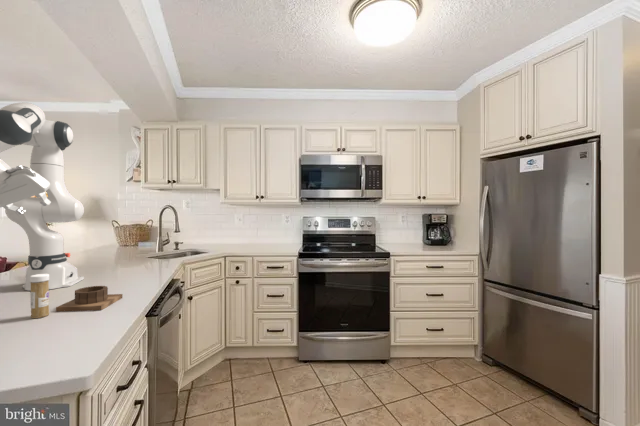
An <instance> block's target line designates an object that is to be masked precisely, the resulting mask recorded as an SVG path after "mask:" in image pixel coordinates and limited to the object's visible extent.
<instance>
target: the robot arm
mask: <svg viewBox="0 0 640 426" xmlns="http://www.w3.org/2000/svg"><path fill="white" fill-rule="evenodd" d="M73 142H74V132H73V129H72V127H71V126H70V125H69V124H68V123H66V122H63V121H59V120H52V119H51V120H49V119H46V114H45V112H44V111H43V109H41V107H39V106H38V105H36V104H34V103H31V102H30V103H29V102H14V103H11V104H7V105H5V106H3V107H1V108H0V153H2V152H5V151H7V150H9V149H12V148H14V147H16V146H20V145H24V146H31V147H32V150H31V153H30V161H29V163H30V164H29V166H24V165H23V166H22V165H16V166H15V167H11V166H10V165H9V164H8V163H7V162H5V161H4V160H3V158H1V157H0V208H3V209H4V211H5V215H6V216H7V218H8V219H9V220H11V222H14V223H16V224H17V225H18V226H19V227H21V228H22V230H24V232H25V234H26V235H27V239H28V246H29V248H28V249H29V255H28V259H27V263H28V265H29V266H27V268H26V270H25V271H26V273H25V278H24V284H22V286H21V287H22V288H23V289H24V290H25V291H30V292H31V282H30V276H32V275H37V274H49V281H48V284H49V285H48V286H49V290H53V289H55V290H56V289H59V288H67V287H72V286H74V285H75V284H77V283H79V282H81V281H83V280H84V279H85V276H80V275H78V268H77V267H76V266H75V265H73V264H72V263H70V262H69V261H68V258H71V252H64V251H65V248H64V244H65V243H64V241H65V239H64V236H63V235H62V234H61V233H60V232H58V231H55V230H52V229H50V228H49V227H48V225H47V224H49V223H50V224H51V223H71V222H76V221H79V220H80V219H81V218H83V216H84V213H85V207H84V205H83V203H82V202H81V201H80V200H79V199H78V198H76V197H74V196H73V195H72V194H71V193H70V191H69V190H68V188H67V186H66V183H65V181H66V180H65V160H64V159H65V158H64V153H63V151H65V149H67V148H69V147H70V146H71V144H73ZM34 196H35V197H34Z"/></svg>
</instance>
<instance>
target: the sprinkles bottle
mask: <svg viewBox="0 0 640 426" xmlns="http://www.w3.org/2000/svg"><path fill="white" fill-rule="evenodd" d="M48 281H49V274H37V275H32V276H30V282H31V291H30V293H29V294H30V319H41V318H45V317H48V316H49V315H50V307H49V306H50V289H49V286H48V285H49V284H48Z"/></svg>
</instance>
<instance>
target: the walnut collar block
mask: <svg viewBox="0 0 640 426" xmlns="http://www.w3.org/2000/svg"><path fill="white" fill-rule="evenodd" d="M108 289H109V288H108V286H105V285H94V286H93V285H91V286H85V287H82V288H78V289H75V290H74V299H72V300H69V301H67V302H65V303H63V304H60V305H58V306H56V307H55V312H58V313H60V312H61V313H62V312H85V311H86V312H87V311H88V312H89V311H93V312H94V311H95V312H96V311H102V310H104V309H106V308H108V307H110V306H111V305H113V304H114V303H117V302H118V301H120V300H121V299H123V293H115V294H108V293H109V291H108Z"/></svg>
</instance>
